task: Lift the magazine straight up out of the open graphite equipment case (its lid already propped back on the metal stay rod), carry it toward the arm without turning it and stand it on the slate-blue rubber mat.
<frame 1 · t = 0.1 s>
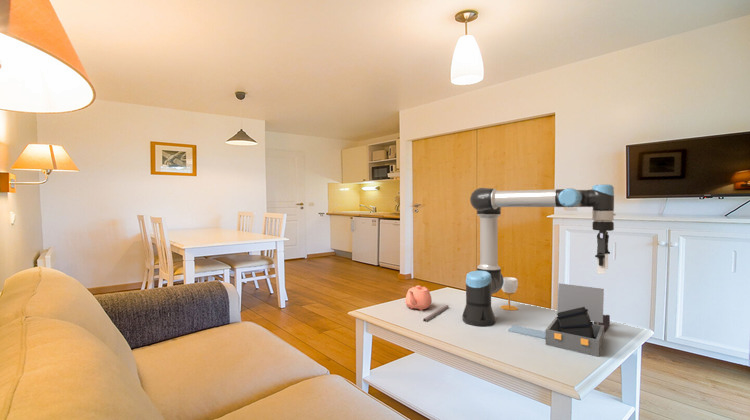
hand: (602, 271, 146), 28 cm above the table, fingers open, 13 cm apart
lid: (579, 302, 149), point 14 cm above the table, hinge at 102.3°
pink rounded piece: (417, 308, 187), on the table
case: (575, 342, 140), on the table
bracket: (599, 328, 157), on the table
mat: (528, 332, 151), on the table
magazine: (575, 343, 140), resting in case
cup: (509, 308, 187), on the table
metal rod: (436, 315, 177), on the table
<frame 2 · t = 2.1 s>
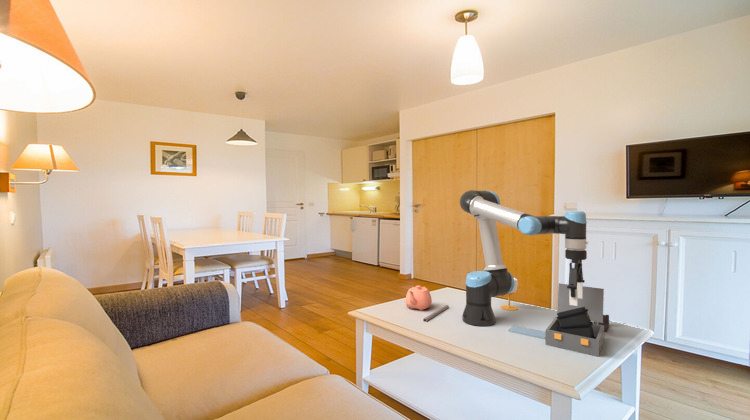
hand: (576, 301, 140), 17 cm above the table, fingers open, 13 cm apart
nothing on the table moved.
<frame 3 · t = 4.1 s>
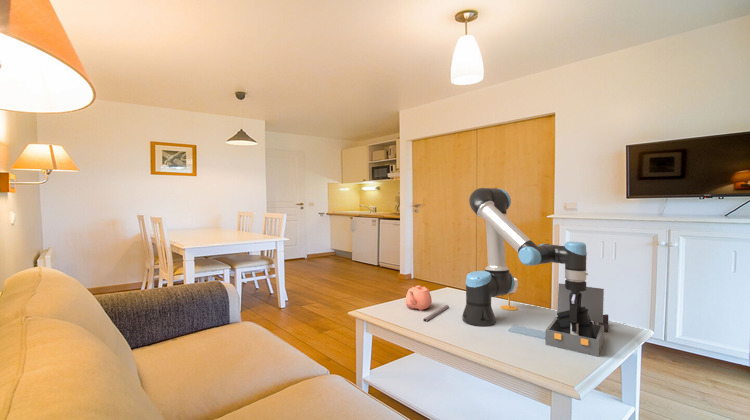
hand: (575, 337, 140), 2 cm above the table, fingers closed on magazine, 4 cm apart
magazine: (575, 342, 140), resting in case, touching gripper
everything else where it was.
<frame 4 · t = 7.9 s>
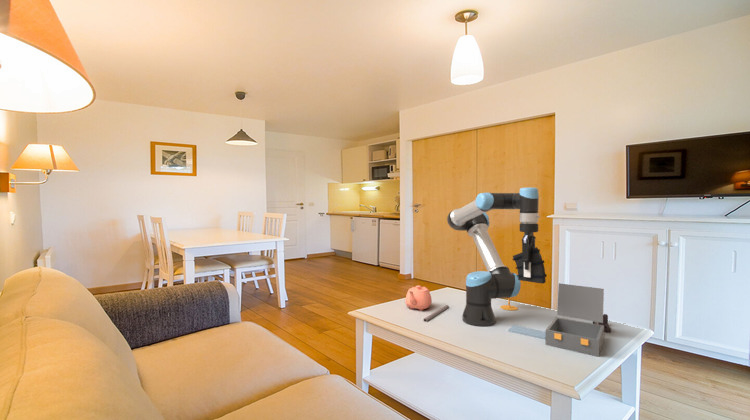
hand: (528, 276, 151), 25 cm above the table, fingers closed on magazine, 4 cm apart
magazine: (528, 281, 151), point 23 cm above the table, touching gripper
everything else where it was.
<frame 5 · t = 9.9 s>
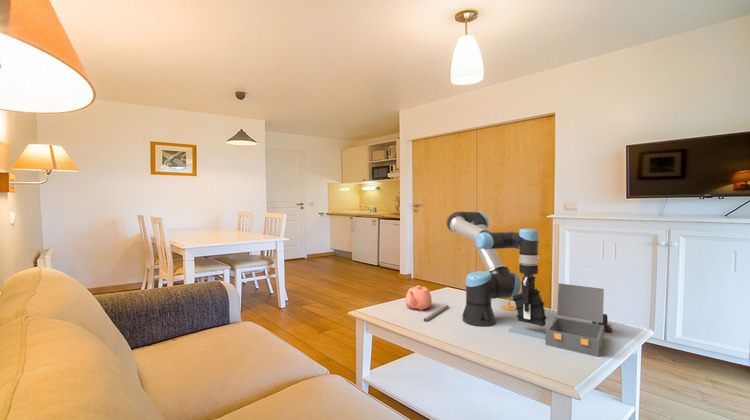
hand: (528, 317, 151), 7 cm above the table, fingers closed on magazine, 4 cm apart
magazine: (528, 322, 151), point 4 cm above the table, touching gripper
when the fingers open (3 cm above the table, at t = 11.6 s): magazine stays where it is, resting on mat.
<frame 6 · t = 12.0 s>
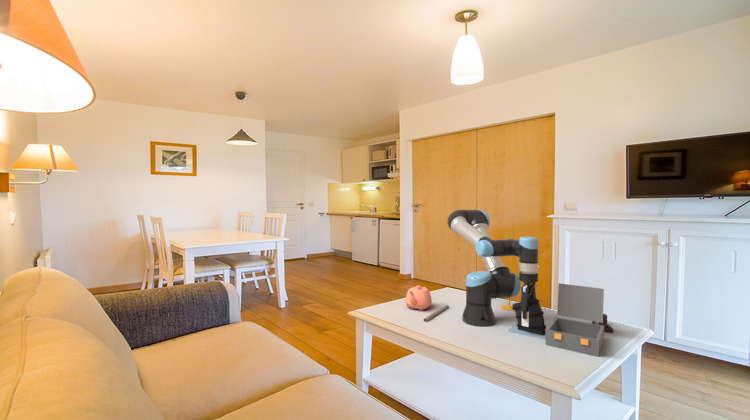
hand: (528, 322, 151), 4 cm above the table, fingers open, 9 cm apart
magazine: (528, 331, 151), resting on mat
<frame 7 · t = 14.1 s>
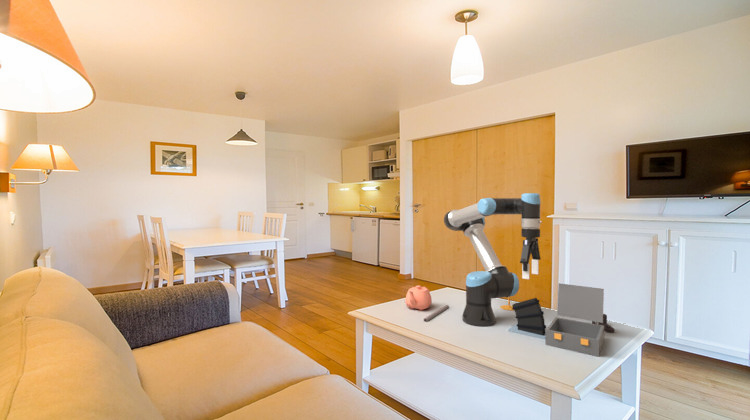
hand: (530, 276, 152), 25 cm above the table, fingers open, 13 cm apart
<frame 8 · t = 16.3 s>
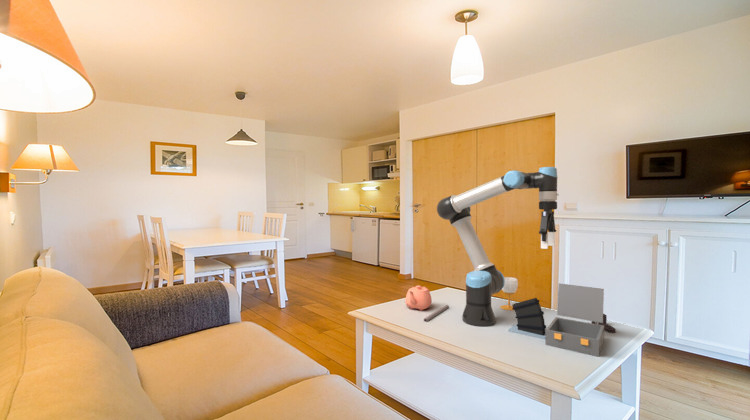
hand: (547, 247, 158), 37 cm above the table, fingers open, 13 cm apart
at the end: magazine inside the target area on the mat (0.1 cm from its centre), point 0.4 cm above the mat's base; magazine tilted 2°; the gripper is holding nothing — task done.
